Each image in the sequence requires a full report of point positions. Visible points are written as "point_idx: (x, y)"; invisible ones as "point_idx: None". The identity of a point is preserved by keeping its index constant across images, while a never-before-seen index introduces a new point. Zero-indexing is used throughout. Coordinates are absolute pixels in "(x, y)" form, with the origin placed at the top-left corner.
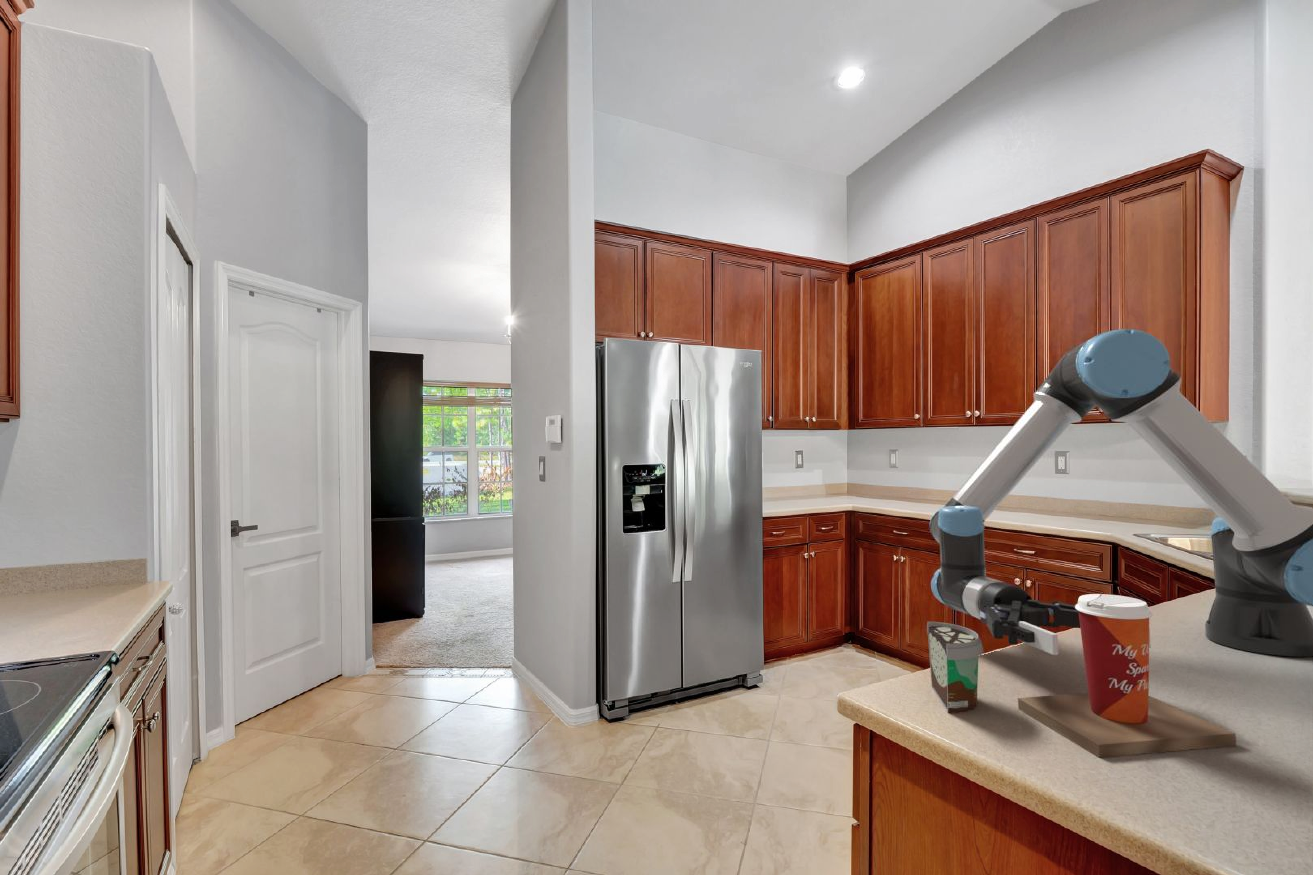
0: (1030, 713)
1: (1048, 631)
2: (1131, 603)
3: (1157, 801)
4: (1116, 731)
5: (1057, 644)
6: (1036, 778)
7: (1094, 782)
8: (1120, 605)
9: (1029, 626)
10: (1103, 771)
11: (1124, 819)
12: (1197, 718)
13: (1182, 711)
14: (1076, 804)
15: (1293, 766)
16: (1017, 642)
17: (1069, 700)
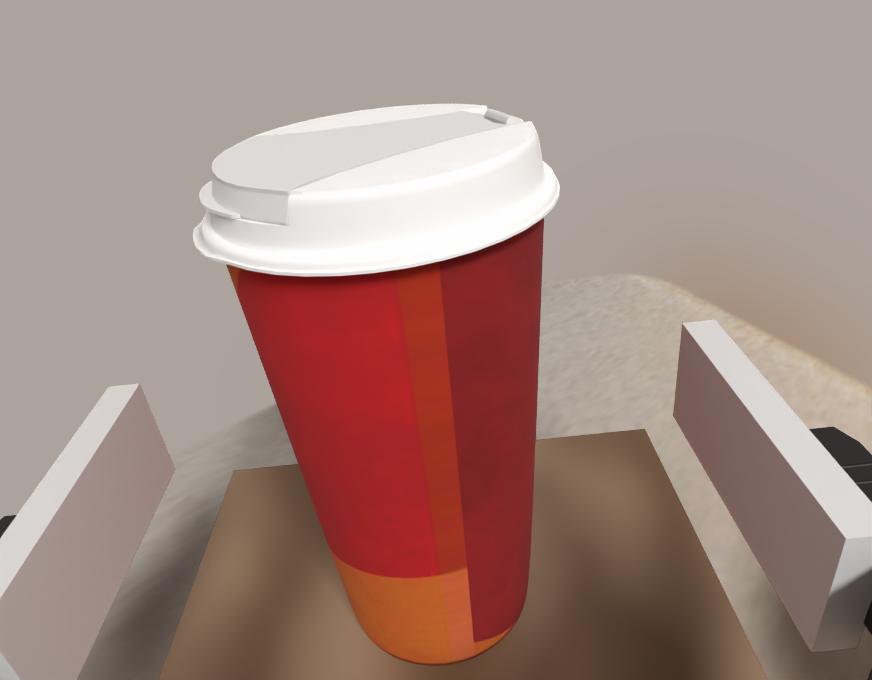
0: None
1: (714, 353)
2: (339, 125)
3: (618, 348)
4: (544, 482)
5: (679, 371)
6: (839, 392)
7: None
8: (423, 110)
9: (814, 439)
10: (665, 413)
11: (707, 318)
12: (217, 547)
13: (199, 593)
14: (776, 339)
15: (241, 429)
16: (869, 676)
17: None
